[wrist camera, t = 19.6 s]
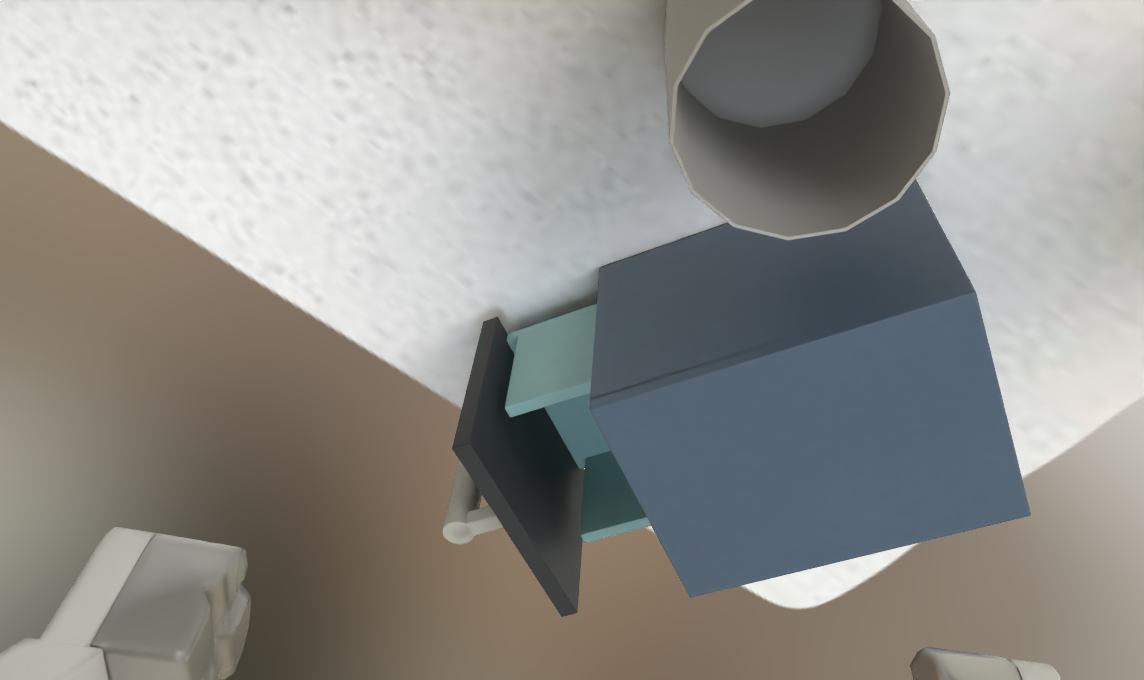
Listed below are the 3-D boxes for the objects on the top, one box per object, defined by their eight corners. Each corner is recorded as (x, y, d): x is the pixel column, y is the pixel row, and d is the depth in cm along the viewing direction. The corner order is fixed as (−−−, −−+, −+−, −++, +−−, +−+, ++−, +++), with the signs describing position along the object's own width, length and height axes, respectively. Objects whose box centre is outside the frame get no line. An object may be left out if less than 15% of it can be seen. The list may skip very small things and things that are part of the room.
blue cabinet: (681, 439, 50) (689, 598, 42) (599, 267, 45) (588, 410, 36) (959, 358, 46) (1031, 516, 38) (905, 160, 41) (976, 291, 32)
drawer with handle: (515, 495, 52) (493, 633, 45) (419, 343, 47) (377, 471, 39) (829, 405, 47) (864, 543, 40) (762, 224, 42) (788, 345, 35)
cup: (736, 160, 41) (759, 281, 33) (621, 2, 38) (615, 94, 30) (920, 40, 38) (996, 142, 30) (812, -144, 35) (864, -86, 26)
